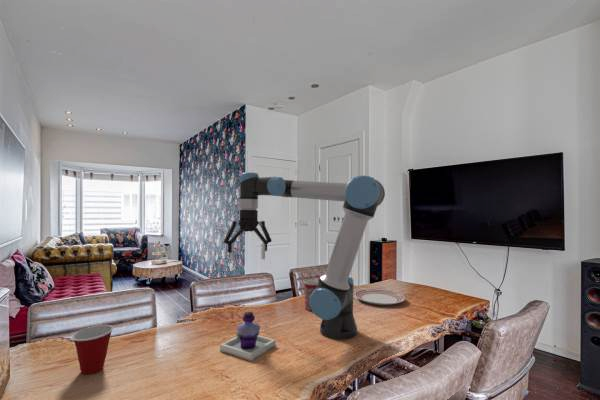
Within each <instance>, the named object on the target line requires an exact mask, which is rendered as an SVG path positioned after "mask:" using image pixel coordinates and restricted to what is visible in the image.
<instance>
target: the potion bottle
mask: <svg viewBox="0 0 600 400" xmlns="http://www.w3.org/2000/svg"><path fill="white" fill-rule="evenodd" d="M242 321H243V323H240V324H238V325H236V328H237V332H236V337H237V338H238V340H239V337H240V342H241V345H240V346H241V348H242V349H253V348H254V347H256V346H255V345H256V340H257V336H258V335H259V334H260V329H261V326H260V324H259V323H254V321H255V315H254V312H252V311H245V312H244V314H243V315H242Z"/></svg>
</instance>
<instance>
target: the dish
mask: <svg viewBox="0 0 600 400" xmlns="http://www.w3.org/2000/svg"><path fill="white" fill-rule="evenodd" d="M276 343H277V341H276V339H274V338H270V337H266V336H264V335H259V334H258V336H257V340H256V345H255V346H256V347H254V348H253V349H242V348H241V346H240V345H241V342H240V337H239V340H238V338H237V336H235V337H233V338H231V339H229V340H227V341H224V342H223V343H220V344H219V352H222V353H225V354H229V355H231V356H235V357H238V358H240V359H243V360H247V361H249V362H253V361H254V360H256V359H257V358H258V357H260V356H262V355H264V354H266V352H268V351H270V350H272V349H273V348H275V347H276V346H277V345H276Z"/></svg>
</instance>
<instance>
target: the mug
mask: <svg viewBox="0 0 600 400" xmlns="http://www.w3.org/2000/svg"><path fill="white" fill-rule="evenodd" d="M318 281H319V280H305V281H304V288H303V289H304V306H305V307H304V309H305V310H306V311H308V312H312V310H311V308H310V304H309V299H310V296H311V294H312V292H313V291H314V290H315V289H316V287H317V284H318Z"/></svg>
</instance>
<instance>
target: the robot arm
mask: <svg viewBox="0 0 600 400" xmlns="http://www.w3.org/2000/svg"><path fill="white" fill-rule="evenodd" d="M239 184H240V186H239V187H240V190H239V191H240V192H239V193H240V194H239V195H240V197H239V209H240V210H239V220H238V221H237V220H232V221H231V226H230V227H229V230H228V232H227V233H226V236H225V238H224V239H223V243H224V244H226V245H227V253H229V261H231V262H234V252H235V251H234V250H235V249H234V248H235V245H234V244H233V243H234V242H235V241H236V240H237V239H238V238H239V236H240V235H241V234H242V233H243V232H247V233H248V232H254V233H255V234H256V235H257V237H258V238H259V239H260V241H262V243H261V244H260V245H261V246H260V247H261V249H260V252H261V253H260V255H261V257H260V259H261V260H265V259H266V252H267V251H268V244H270V243H271V242H272V238H271V235H270V233H269V232H268V229H267V226H266V221H264V220H260V221H259V220H258V216H259V215H258V210H257V209H259V196H273V197H282V198H295V199H296V198H297V199H309V200H320V201H321V200H322V201H332V202H344V203H343V205H342V210H343V211H344V216H343V220H342V222H341V225H340V228H339V231H338V234H337V237H336V240H335V243H334V246H333V249H332V253H331V255H330V258H329V261H328V265H327V267H326V270H325V273H323V274H321V275H320V276H319V278H318V279H319V280H317V281H318V284H317V287H316V289H315V290H314V291H313V292H312V294H311V296H310V299H309V304H310V308H311V310H312V311H311V312H312V313H313V314H314V315H315V316H316V317H318V318H319V319H321V322H320V326H319V329H320V331H319V332H320V334H321V335H322V336H324V337H326V338H328V339H333V340H349V339H353V338H356V336H357V335H358V327H357V323H356V319H355V317H354V286H355V285H354V279H353V278H352V277H351V276H350V275H351V272H352V268H353V266H354V263H355V259H356V257H357V254H358V251H359V248H360V245H361V242H362V240H363V236H364V233H365V231H366V227H367V224H368V221H369V220H372V219H373V218H374V217H375V214H376V212H377V208H378V207H379V206H380V205H381V204H382V203H383V201H384V199H385V196H386V191H385V188H384V185H383V184H382V183H381V182H380V181H378V180H376V179H375V178H374V177H372V176H369V175H358V176H354V177H353V178H352V179H350V180H349V181H348V182H347V183H346V182H328V181H327V182H325V181H312V180H311V181H308V180H291V179H290V180H289V179H284V178H283V177H280V176H265V177H259V173H257V172H247V171H246V172H242V173H241V175H240V182H239ZM258 225H259V226H260V228H261V231H262V232H263V234H262V233H261V232H260V230H259V228H258ZM237 226H239V228H238V230H237V231H235V230H236V227H237ZM234 231H235V233H234ZM233 233H234V234H233ZM232 235H233V236H232ZM231 236H232V237H231Z"/></svg>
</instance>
